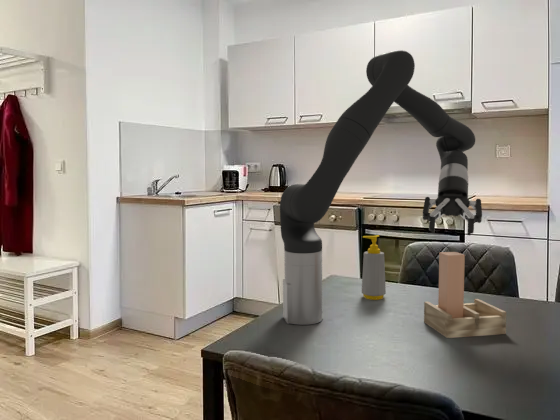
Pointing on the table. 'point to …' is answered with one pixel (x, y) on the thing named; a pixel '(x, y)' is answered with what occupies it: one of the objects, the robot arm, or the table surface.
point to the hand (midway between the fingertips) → (450, 232)
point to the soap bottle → (373, 272)
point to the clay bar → (451, 283)
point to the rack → (467, 320)
